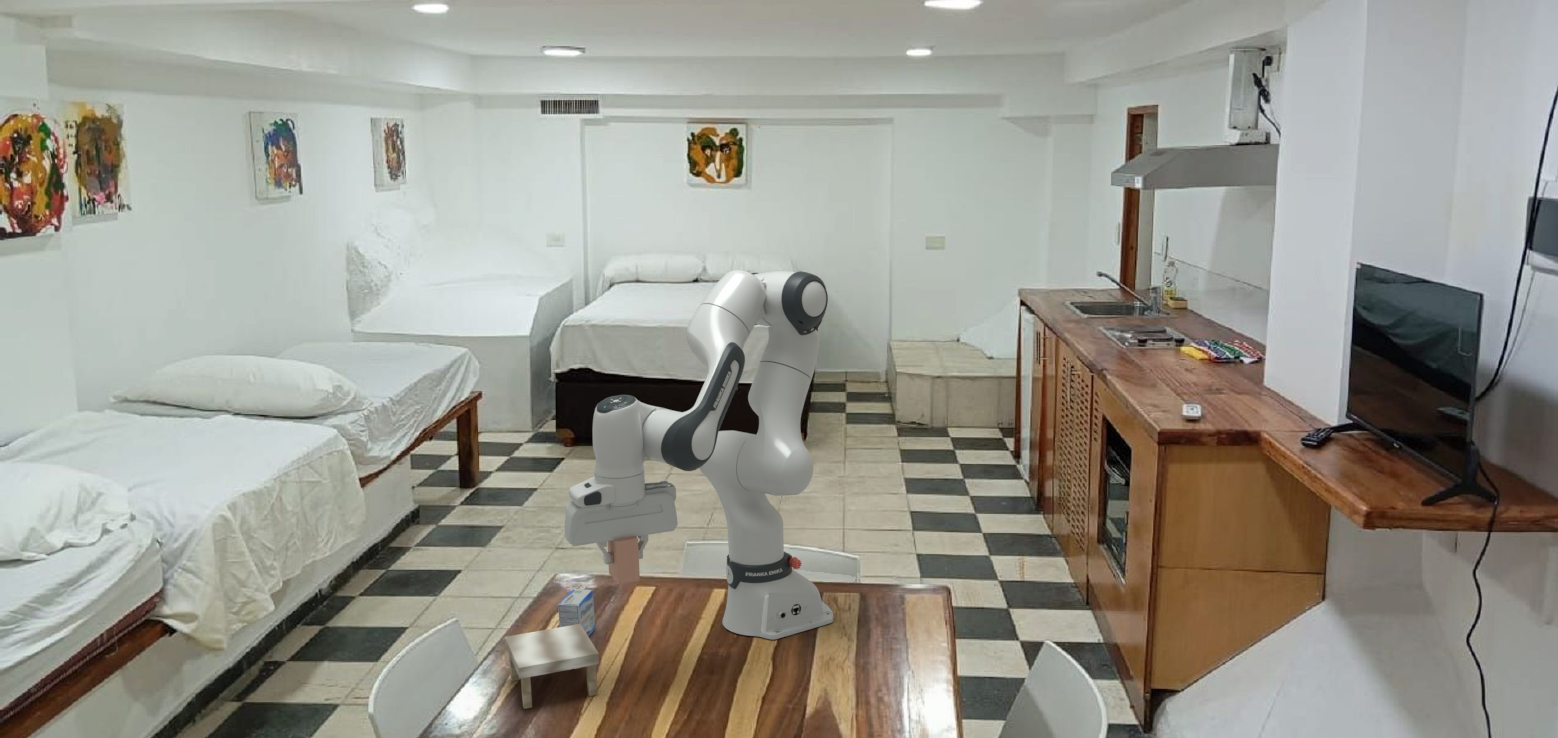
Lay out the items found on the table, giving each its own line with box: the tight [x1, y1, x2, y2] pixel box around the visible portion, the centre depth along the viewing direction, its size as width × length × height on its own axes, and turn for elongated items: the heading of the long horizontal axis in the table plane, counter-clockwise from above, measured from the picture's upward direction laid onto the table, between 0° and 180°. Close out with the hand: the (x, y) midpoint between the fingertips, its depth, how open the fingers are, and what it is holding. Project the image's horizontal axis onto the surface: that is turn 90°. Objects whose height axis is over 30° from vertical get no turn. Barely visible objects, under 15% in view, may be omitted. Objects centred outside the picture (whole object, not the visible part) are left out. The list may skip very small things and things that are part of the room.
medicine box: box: [557, 588, 596, 638], centre depth 239 cm, size 8×4×9 cm, turn 168°
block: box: [607, 536, 641, 585], centre depth 219 cm, size 4×6×8 cm, turn 24°
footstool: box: [504, 624, 600, 710], centre depth 218 cm, size 14×14×8 cm
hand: (623, 560), depth 219 cm, fingers closed on block, 4 cm apart
